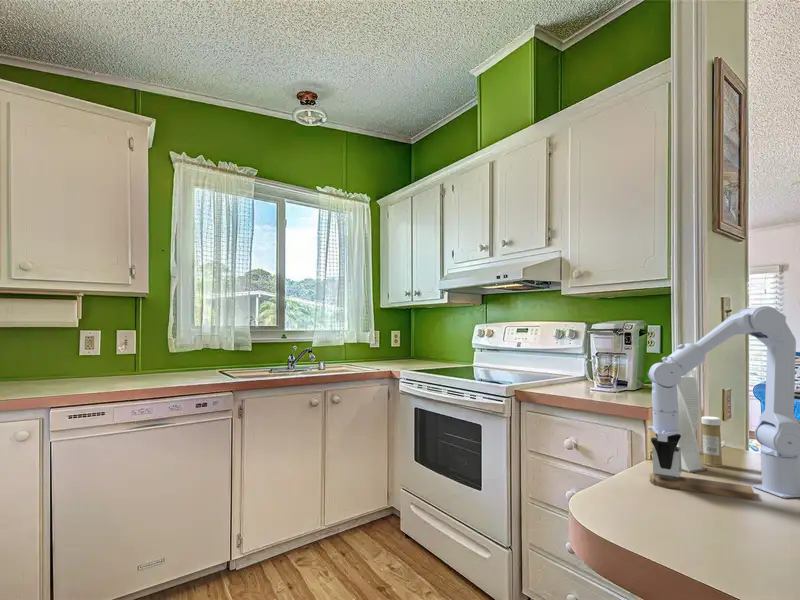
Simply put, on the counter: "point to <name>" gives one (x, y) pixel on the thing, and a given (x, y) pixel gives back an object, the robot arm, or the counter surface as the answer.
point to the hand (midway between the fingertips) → (667, 465)
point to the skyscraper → (689, 422)
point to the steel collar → (675, 467)
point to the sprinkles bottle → (712, 441)
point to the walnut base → (702, 486)
